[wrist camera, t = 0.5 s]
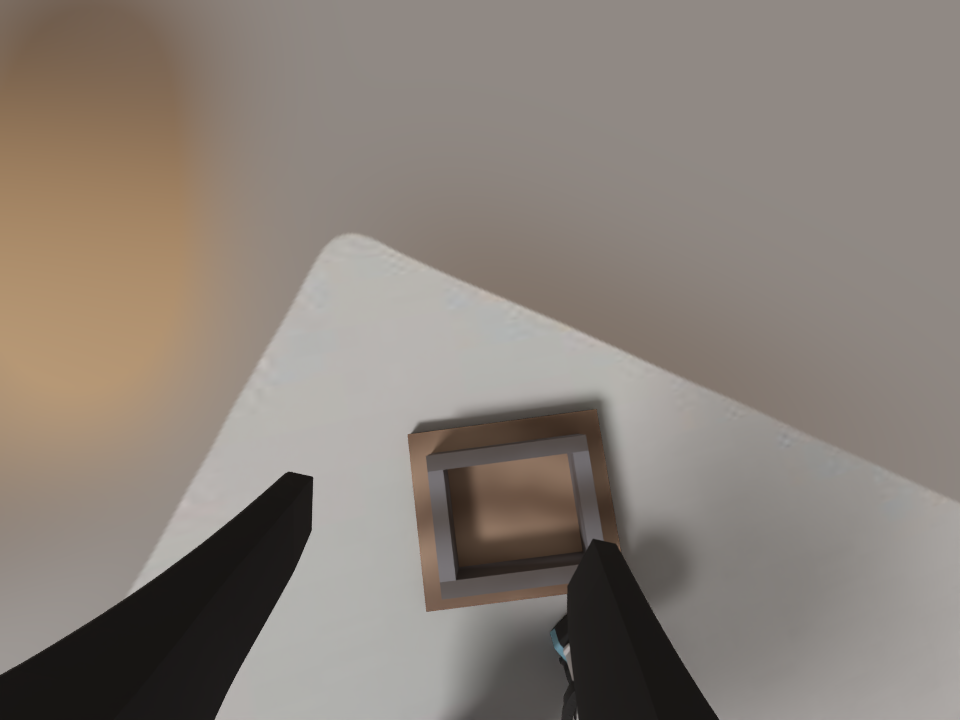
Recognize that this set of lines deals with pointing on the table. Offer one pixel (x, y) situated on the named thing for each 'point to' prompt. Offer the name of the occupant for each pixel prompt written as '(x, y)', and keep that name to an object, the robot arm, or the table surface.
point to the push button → (565, 667)
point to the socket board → (509, 507)
